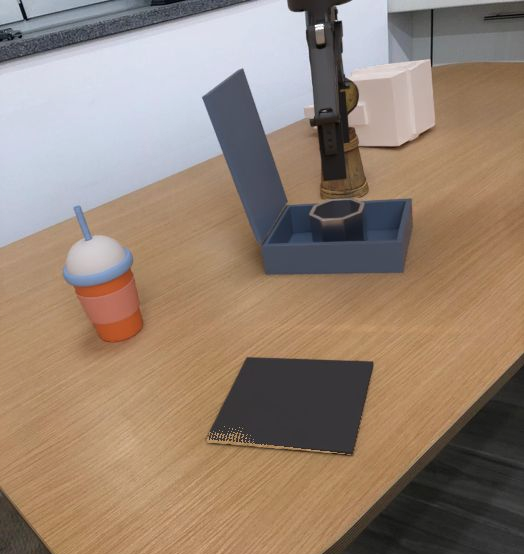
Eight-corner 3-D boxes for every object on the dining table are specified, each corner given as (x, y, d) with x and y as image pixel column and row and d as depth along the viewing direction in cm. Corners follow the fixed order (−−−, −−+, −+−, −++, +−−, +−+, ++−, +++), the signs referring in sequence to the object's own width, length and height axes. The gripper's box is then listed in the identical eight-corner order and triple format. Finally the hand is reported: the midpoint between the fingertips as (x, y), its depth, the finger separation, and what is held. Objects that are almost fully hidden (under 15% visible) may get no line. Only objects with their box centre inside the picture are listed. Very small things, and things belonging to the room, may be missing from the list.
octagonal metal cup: (370, 237, 91) (367, 196, 88) (362, 261, 85) (359, 218, 82) (321, 239, 94) (316, 199, 90) (310, 262, 88) (305, 220, 84)
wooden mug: (375, 172, 116) (368, 72, 105) (364, 200, 105) (356, 92, 95) (329, 175, 118) (319, 78, 108) (315, 203, 108) (302, 98, 98)
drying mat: (373, 365, 67) (373, 361, 66) (353, 456, 56) (352, 451, 56) (247, 360, 72) (246, 356, 71) (206, 443, 61) (205, 439, 61)
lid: (243, 67, 85) (238, 69, 86) (207, 95, 74) (201, 97, 74) (288, 201, 95) (283, 202, 96) (262, 242, 84) (257, 243, 85)
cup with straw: (78, 350, 80) (26, 226, 70) (103, 314, 88) (59, 196, 77) (141, 347, 78) (97, 218, 68) (161, 310, 86) (124, 188, 75)
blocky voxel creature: (351, 123, 152) (451, 120, 133) (286, 156, 139) (386, 158, 120) (342, 61, 144) (447, 48, 125) (272, 90, 132) (377, 80, 112)
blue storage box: (412, 230, 92) (411, 198, 89) (403, 277, 81) (401, 242, 78) (290, 235, 99) (286, 204, 96) (266, 279, 88) (260, 246, 85)
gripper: (295, -37, 75) (315, 134, 87) (267, -18, 55) (299, 200, 67) (355, -49, 74) (368, 127, 85) (349, -34, 54) (367, 193, 66)
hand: (337, 160), depth 76 cm, fingers open, 13 cm apart
